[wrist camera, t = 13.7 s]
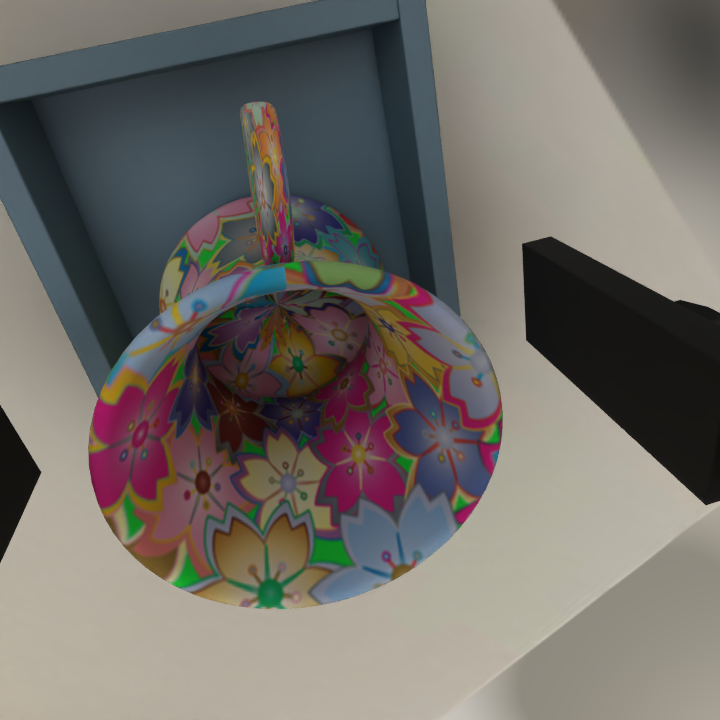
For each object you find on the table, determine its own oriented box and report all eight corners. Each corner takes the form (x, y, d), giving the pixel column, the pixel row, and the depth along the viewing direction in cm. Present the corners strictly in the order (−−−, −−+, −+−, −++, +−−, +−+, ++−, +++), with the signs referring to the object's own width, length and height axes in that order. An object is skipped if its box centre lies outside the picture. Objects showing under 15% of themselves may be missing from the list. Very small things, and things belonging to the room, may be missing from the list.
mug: (396, 384, 25) (496, 569, 15) (180, 420, 23) (148, 646, 14) (383, 81, 19) (526, 85, 10) (99, 104, 18) (-43, 134, 9)
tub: (385, -2, 19) (424, -22, 15) (439, 386, 26) (474, 438, 23) (1, 77, 18) (-60, 78, 14) (171, 461, 25) (162, 529, 21)
